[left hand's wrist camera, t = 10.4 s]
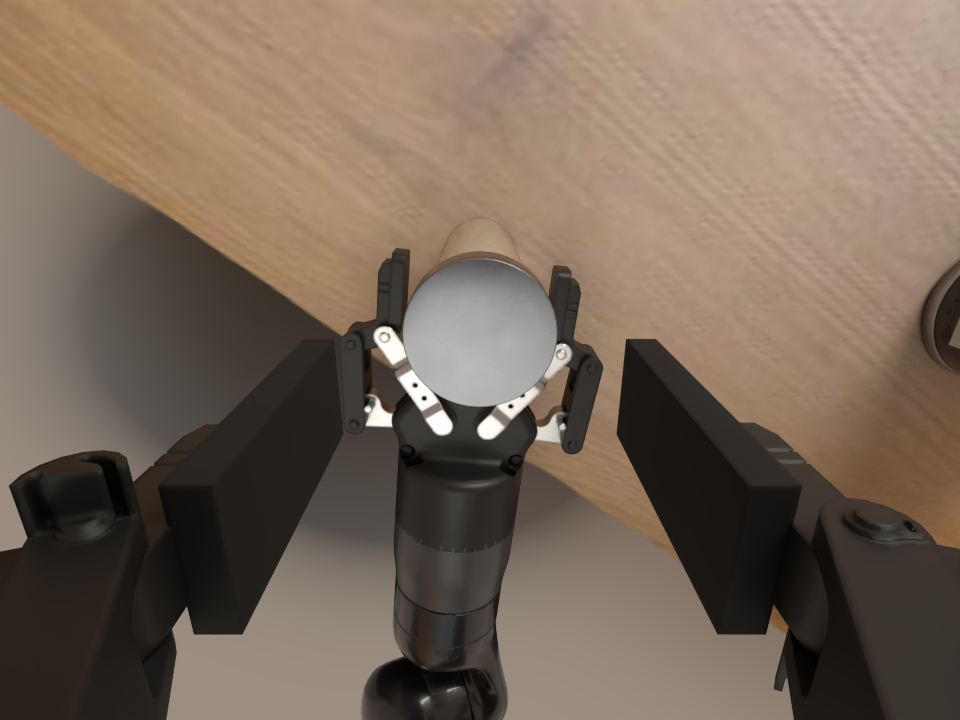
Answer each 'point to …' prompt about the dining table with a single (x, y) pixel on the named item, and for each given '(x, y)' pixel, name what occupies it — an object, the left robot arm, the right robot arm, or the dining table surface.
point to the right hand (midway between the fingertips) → (481, 259)
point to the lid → (480, 329)
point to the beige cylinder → (479, 240)
